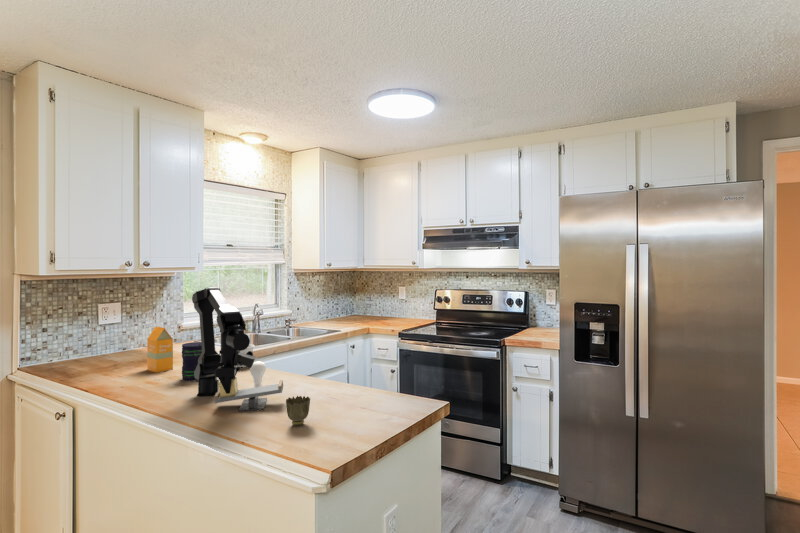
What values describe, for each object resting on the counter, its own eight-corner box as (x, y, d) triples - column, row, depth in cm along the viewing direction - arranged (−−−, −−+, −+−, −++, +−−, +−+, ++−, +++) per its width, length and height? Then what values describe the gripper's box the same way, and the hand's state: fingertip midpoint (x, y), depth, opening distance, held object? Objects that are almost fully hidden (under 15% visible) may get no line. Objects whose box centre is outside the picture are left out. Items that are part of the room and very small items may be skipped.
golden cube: (220, 397, 151) (218, 383, 151) (223, 393, 156) (221, 379, 156) (235, 395, 152) (234, 380, 152) (238, 391, 157) (236, 377, 157)
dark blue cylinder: (176, 380, 189) (176, 345, 189) (194, 374, 198) (194, 341, 198) (193, 382, 185) (193, 346, 185) (211, 376, 194) (211, 343, 194)
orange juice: (163, 366, 213) (163, 325, 213) (173, 369, 208) (173, 327, 208) (146, 369, 207) (146, 327, 207) (156, 372, 202) (156, 328, 202)
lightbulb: (268, 387, 178) (269, 360, 178) (259, 391, 172) (259, 363, 172) (256, 386, 180) (256, 359, 180) (246, 390, 174) (246, 362, 174)
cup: (287, 420, 140) (287, 395, 140) (311, 420, 141) (311, 395, 141) (283, 429, 133) (283, 402, 133) (308, 428, 133) (308, 402, 133)
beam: (215, 403, 149) (214, 396, 149) (219, 396, 157) (219, 389, 157) (281, 392, 153) (281, 385, 153) (283, 386, 161) (282, 379, 161)
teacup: (226, 363, 219) (226, 343, 219) (257, 363, 221) (257, 343, 221) (218, 369, 207) (219, 348, 207) (251, 369, 209) (251, 347, 209)
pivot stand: (238, 411, 149) (238, 401, 149) (244, 400, 160) (244, 390, 160) (263, 410, 150) (263, 399, 150) (267, 399, 162) (267, 389, 162)
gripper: (249, 350, 146) (249, 397, 146) (257, 341, 164) (256, 383, 164) (214, 352, 144) (214, 399, 144) (225, 342, 162) (225, 384, 162)
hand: (229, 391), depth 154 cm, fingers open, 5 cm apart
